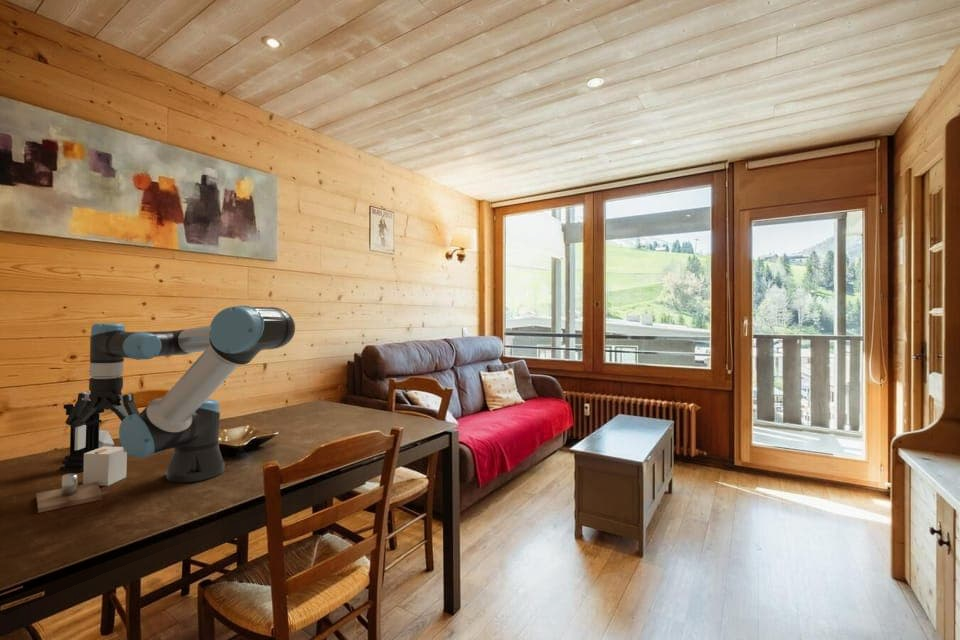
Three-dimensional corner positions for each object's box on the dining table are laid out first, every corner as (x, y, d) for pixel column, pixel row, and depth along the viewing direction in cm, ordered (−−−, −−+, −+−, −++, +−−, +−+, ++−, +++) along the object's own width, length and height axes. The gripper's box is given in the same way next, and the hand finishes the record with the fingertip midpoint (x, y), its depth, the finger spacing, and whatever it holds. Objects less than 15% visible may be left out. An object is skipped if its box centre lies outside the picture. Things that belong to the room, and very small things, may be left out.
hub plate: (96, 485, 125) (96, 480, 125) (102, 499, 117) (102, 493, 117) (36, 497, 116) (36, 492, 116) (38, 512, 108) (38, 507, 108)
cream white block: (126, 477, 132) (127, 445, 132) (107, 485, 125) (108, 452, 125) (102, 476, 132) (103, 444, 132) (83, 485, 125) (83, 451, 125)
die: (120, 453, 155) (111, 427, 157) (110, 447, 147) (102, 420, 150) (89, 465, 150) (81, 439, 153) (78, 460, 143) (70, 432, 146)
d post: (76, 490, 119) (77, 472, 118) (77, 494, 116) (78, 475, 116) (61, 493, 116) (61, 474, 116) (62, 497, 114) (62, 478, 114)
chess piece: (80, 472, 134) (81, 406, 134) (59, 469, 136) (61, 404, 136) (107, 464, 142) (108, 401, 142) (87, 461, 144) (88, 400, 143)
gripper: (159, 376, 132) (157, 447, 132) (73, 372, 131) (71, 444, 131) (141, 380, 124) (138, 455, 125) (49, 376, 124) (47, 452, 124)
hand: (104, 449), depth 128 cm, fingers open, 13 cm apart
